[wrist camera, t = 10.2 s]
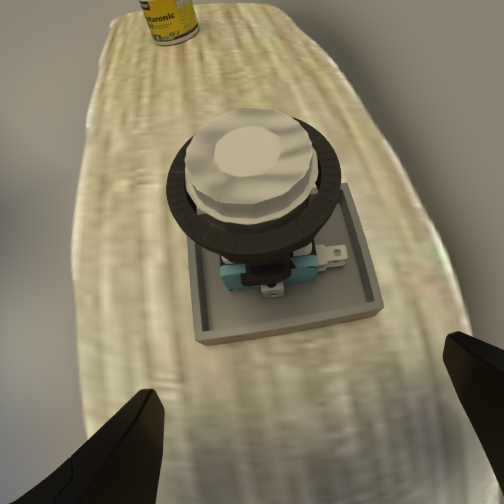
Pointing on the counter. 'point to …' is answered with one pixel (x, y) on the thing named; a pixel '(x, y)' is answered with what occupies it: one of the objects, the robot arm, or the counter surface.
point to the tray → (287, 288)
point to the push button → (258, 198)
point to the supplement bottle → (170, 20)
